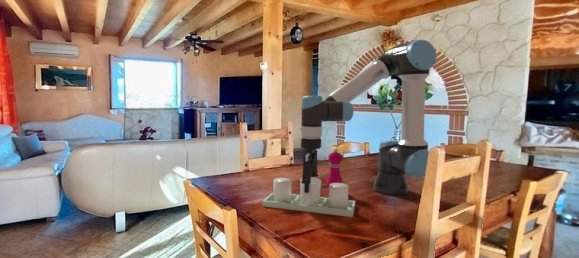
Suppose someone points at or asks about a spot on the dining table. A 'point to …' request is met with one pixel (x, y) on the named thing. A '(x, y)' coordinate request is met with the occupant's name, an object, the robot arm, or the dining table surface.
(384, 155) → the robot arm
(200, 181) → the dining table surface
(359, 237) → the dining table surface
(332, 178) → the pepper mill
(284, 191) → the white capsule
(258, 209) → the dining table surface
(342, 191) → the white round cylinder
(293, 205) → the caddy
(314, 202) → the white cup
